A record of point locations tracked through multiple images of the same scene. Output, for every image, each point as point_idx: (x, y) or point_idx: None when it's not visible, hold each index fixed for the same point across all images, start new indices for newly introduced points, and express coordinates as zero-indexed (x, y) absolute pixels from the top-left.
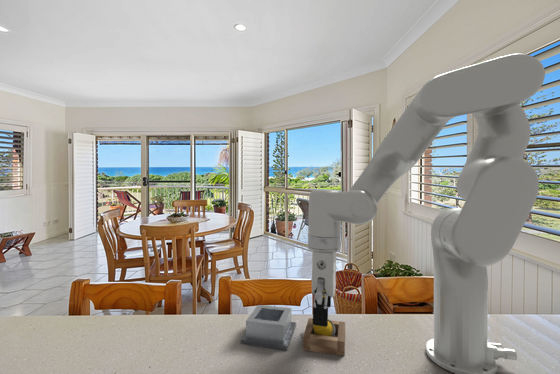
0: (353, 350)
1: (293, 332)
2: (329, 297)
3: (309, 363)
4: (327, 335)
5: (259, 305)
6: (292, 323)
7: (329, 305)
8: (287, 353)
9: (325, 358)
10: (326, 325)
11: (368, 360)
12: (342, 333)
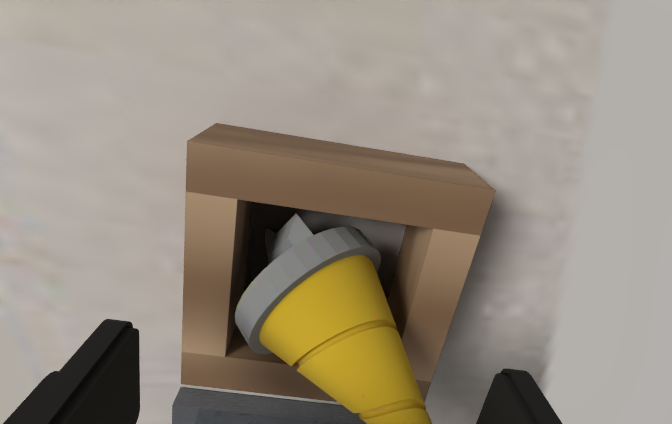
0: (408, 99)
1: (253, 397)
2: (76, 416)
3: (511, 330)
4: (378, 279)
5: None
6: (190, 420)
7: (130, 340)
8: (431, 409)
9: (478, 262)
10: (525, 378)
11: (519, 19)
12: (378, 188)
